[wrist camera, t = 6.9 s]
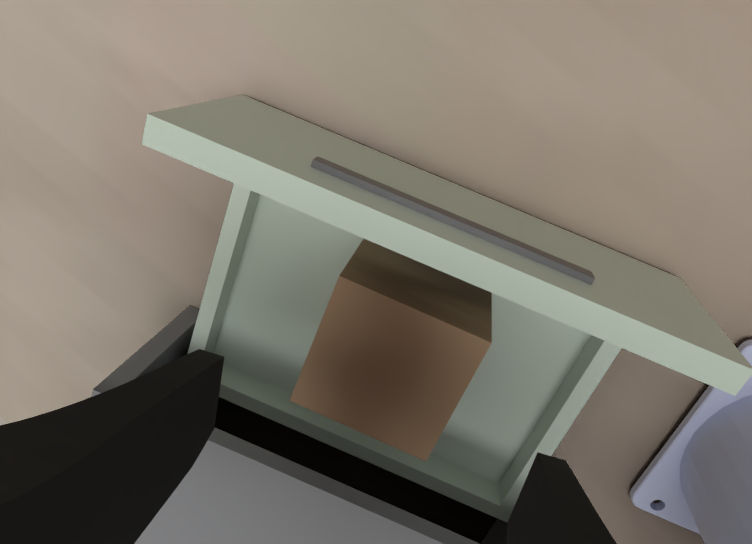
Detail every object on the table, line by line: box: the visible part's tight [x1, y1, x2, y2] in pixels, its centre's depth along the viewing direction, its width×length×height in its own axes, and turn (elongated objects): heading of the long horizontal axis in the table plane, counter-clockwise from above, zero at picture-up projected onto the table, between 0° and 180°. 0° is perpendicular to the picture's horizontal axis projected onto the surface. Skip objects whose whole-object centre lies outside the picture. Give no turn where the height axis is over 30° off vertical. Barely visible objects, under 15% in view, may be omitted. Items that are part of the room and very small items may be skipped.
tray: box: [142, 95, 752, 523], centre depth 19 cm, size 16×11×6 cm
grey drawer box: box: [92, 306, 508, 544], centre depth 23 cm, size 16×11×6 cm
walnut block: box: [289, 239, 492, 461], centre depth 19 cm, size 5×5×4 cm
